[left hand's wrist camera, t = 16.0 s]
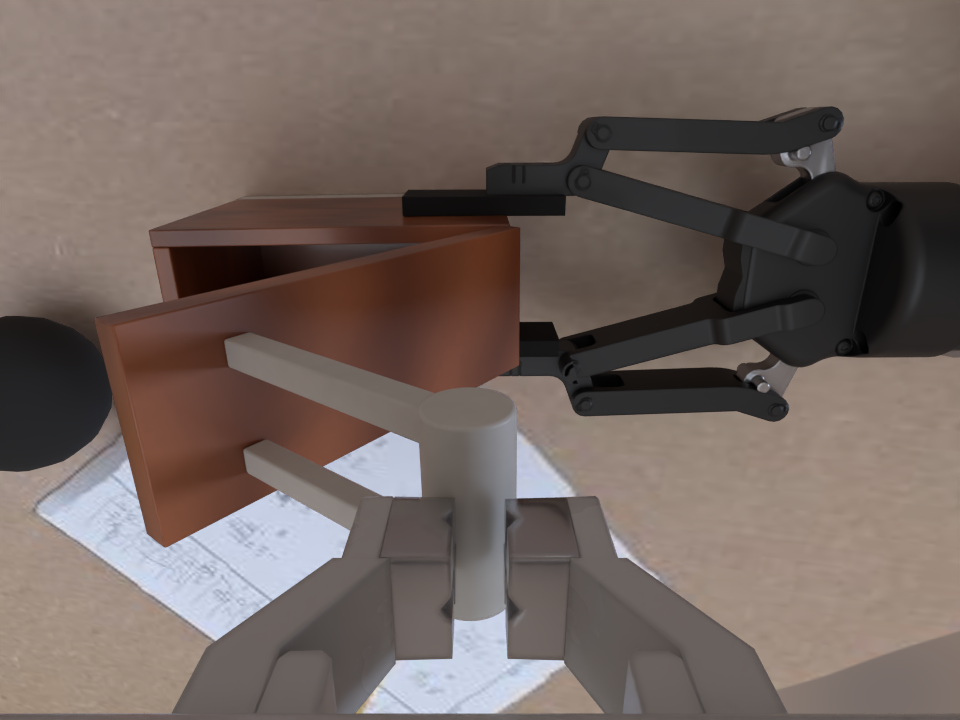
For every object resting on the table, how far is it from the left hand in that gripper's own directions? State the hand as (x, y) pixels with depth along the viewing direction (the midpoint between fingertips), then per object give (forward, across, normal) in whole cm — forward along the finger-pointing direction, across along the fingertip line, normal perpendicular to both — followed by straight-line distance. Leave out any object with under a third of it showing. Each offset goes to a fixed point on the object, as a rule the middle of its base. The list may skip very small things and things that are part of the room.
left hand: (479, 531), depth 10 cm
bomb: (+25, +23, +7) cm, 35 cm away
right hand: (+18, +3, 0) cm, 18 cm away
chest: (+25, +6, 0) cm, 26 cm away
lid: (+9, +3, 0) cm, 10 cm away
